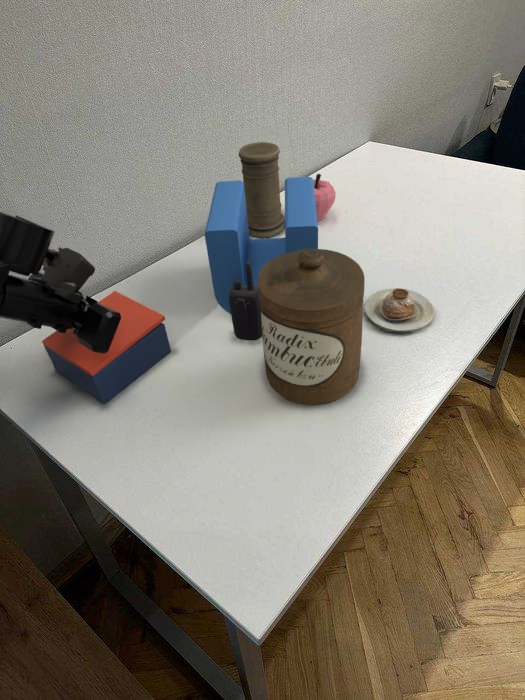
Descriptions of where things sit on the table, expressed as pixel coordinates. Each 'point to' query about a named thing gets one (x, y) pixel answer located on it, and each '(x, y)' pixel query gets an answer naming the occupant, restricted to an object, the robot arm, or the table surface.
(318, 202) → the apple
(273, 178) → the container
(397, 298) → the pastry
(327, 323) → the wooden container
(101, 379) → the box
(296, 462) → the table surface
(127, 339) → the lid
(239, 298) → the two-way radio
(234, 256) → the block
